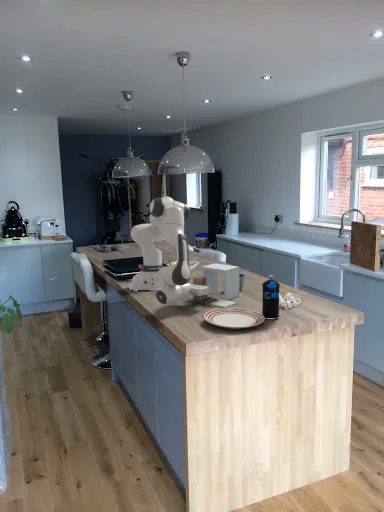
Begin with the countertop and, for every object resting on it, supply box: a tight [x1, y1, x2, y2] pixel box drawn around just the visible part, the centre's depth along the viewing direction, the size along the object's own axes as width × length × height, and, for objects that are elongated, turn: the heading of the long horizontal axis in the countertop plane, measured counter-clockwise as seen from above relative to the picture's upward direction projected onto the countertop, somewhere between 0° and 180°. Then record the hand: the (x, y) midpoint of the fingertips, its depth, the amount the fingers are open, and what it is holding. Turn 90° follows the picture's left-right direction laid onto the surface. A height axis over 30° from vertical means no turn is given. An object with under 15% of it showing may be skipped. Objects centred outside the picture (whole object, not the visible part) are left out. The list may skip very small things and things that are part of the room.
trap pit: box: [192, 296, 217, 305], centre depth 233 cm, size 9×9×1 cm
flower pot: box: [239, 273, 247, 292], centre depth 254 cm, size 9×9×9 cm
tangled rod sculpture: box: [279, 292, 302, 309], centre depth 225 cm, size 19×14×4 cm
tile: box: [209, 298, 238, 308], centre depth 226 cm, size 10×10×1 cm
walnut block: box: [192, 275, 208, 301], centre depth 229 cm, size 5×5×12 cm
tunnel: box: [201, 262, 240, 301], centre depth 242 cm, size 12×17×16 cm
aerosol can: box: [261, 274, 281, 318], centre depth 202 cm, size 8×8×20 cm
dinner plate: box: [203, 307, 266, 330], centre depth 197 cm, size 27×27×3 cm
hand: (200, 285), depth 229 cm, fingers closed on walnut block, 5 cm apart
